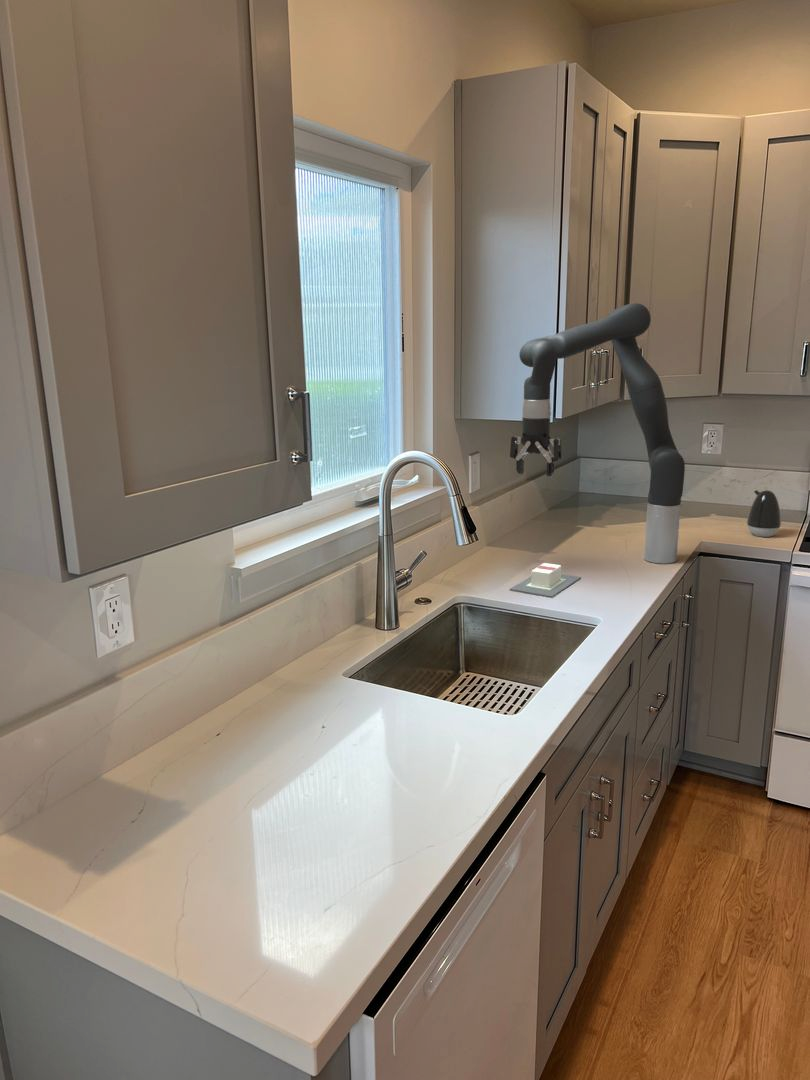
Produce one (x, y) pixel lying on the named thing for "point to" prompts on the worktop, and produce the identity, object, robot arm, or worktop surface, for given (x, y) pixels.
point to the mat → (548, 592)
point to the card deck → (546, 575)
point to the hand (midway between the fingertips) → (534, 474)
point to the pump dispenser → (764, 515)
